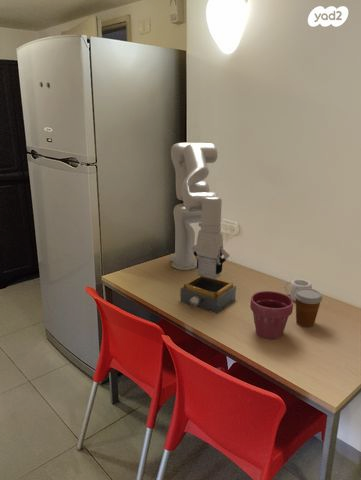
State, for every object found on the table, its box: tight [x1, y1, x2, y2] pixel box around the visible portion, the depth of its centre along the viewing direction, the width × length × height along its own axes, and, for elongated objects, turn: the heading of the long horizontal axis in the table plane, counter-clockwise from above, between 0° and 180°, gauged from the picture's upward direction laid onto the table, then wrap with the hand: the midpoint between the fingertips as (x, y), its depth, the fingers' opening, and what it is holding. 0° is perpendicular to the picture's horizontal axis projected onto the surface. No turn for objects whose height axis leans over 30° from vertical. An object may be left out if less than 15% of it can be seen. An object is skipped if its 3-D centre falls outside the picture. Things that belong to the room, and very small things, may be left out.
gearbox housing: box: [179, 275, 237, 315], centre depth 158 cm, size 17×19×8 cm
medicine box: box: [197, 256, 221, 280], centre depth 156 cm, size 8×4×9 cm, turn 57°
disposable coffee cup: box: [295, 288, 323, 328], centre depth 142 cm, size 10×10×12 cm
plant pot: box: [249, 290, 294, 340], centre depth 136 cm, size 14×14×13 cm
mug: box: [284, 278, 313, 302], centre depth 162 cm, size 12×8×8 cm
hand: (209, 270), depth 156 cm, fingers closed on medicine box, 8 cm apart
